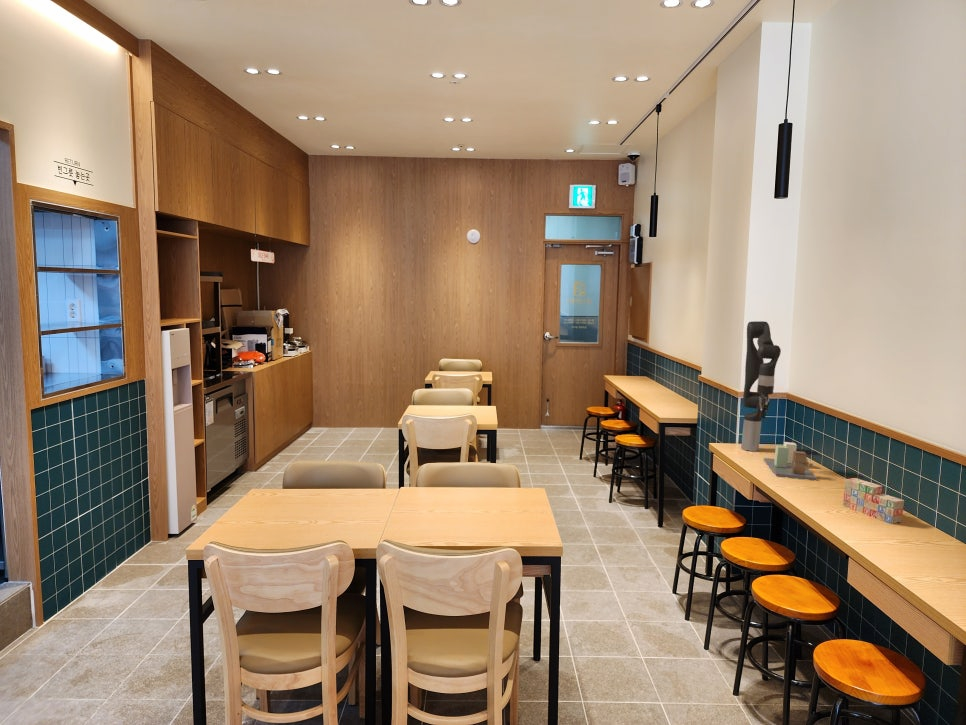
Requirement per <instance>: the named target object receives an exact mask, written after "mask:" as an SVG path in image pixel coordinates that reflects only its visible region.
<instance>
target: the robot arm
mask: <svg viewBox="0 0 966 725" xmlns="http://www.w3.org/2000/svg"><path fill="white" fill-rule="evenodd" d="M754 339H757V346H758V348H757V347H756V345H755V343H754ZM781 350H782V348H781V347H780V346H779V345H777V344H774V342H773V340H772V337H771V327H770V324H769V323H768V321H761V320H760V321H757V320H755V321H749V322H748V323H747V326H746V356H745V367H744V368H745V370H744V372H745V373H744V376H745V377H744V378H745V379H744V387H743V388H744V389H743V394H742V395H743V396H742V405H743V407H744V408H748V409H756V410H755V411H753V412H750V413H749V412H748V413H745V414H744V416H743V426H742V436H741V448H742V450H743V449H744V451H747V450H749V451H748V452H759V449H760V441H761V440H760V438H761V428H762V419H763V420H764V419H766V414H767V411H768V409H769V406H770V397H769V395H773V394H774V387H775V372H776V366H777V363H778V361H779V358H780V356H781ZM765 359H767V360H770V361H769V362H765ZM756 381H757V387H756V388H757V389H756V391H751V388H752V387H753V385H754V383H756Z"/></svg>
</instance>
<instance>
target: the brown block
mask: <svg viewBox="0 0 966 725" xmlns="http://www.w3.org/2000/svg"><path fill="white" fill-rule="evenodd" d="M807 457H808V454H807V453H806V451H799V450H798V451H797V450H796V451H793V459H792V469H791V471H792V472H793V473H796V474H805V468H807V466H806V459H808V458H807Z"/></svg>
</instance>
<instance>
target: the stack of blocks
mask: <svg viewBox="0 0 966 725" xmlns="http://www.w3.org/2000/svg"><path fill="white" fill-rule="evenodd" d="M883 488H884V486H883V485H880V484H877V483H873V482H870V481H866V480H863V479H860V478H858V477H857V478H856V477H854V478H853V477H852V478H846V479H845V480H844V489H843V490H844V492H843V493H844V494H843V501H842V507H843V506H844V507H843V508H845V507H847V508H846V509H848V508H850V509H849V510H851V509H852V511H853V510H855V511H854V512H856V511H858V512H857V513H859V512H860V513H859V514H862V513H864V514H863V515H865V514H867V515H866V516H868V515H870V516H869V517H871V516H873V517H876V518H878V519H877V520H879V519H881V520H880V521H882V520H883V521H882V522H885V521H886V522H885V523H888V522H889V523H888V524H890V523H894V524H898V523H897V522H900V523H902V521H903V520H902V518H903V512H904V506H905V505H904V504H905V500H904V499H901V498H898V497H896V496H892V495H889V494H886V493H883ZM873 517H872V518H873ZM876 518H875V519H876Z"/></svg>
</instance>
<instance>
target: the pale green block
mask: <svg viewBox="0 0 966 725" xmlns="http://www.w3.org/2000/svg"><path fill="white" fill-rule="evenodd" d="M788 452H789V448H788V447H787V446H784V445H780V444H779V445H777V444H775V450H774V459H775V460H774V465H775V466H776V467H785V468H787V461H788Z"/></svg>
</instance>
